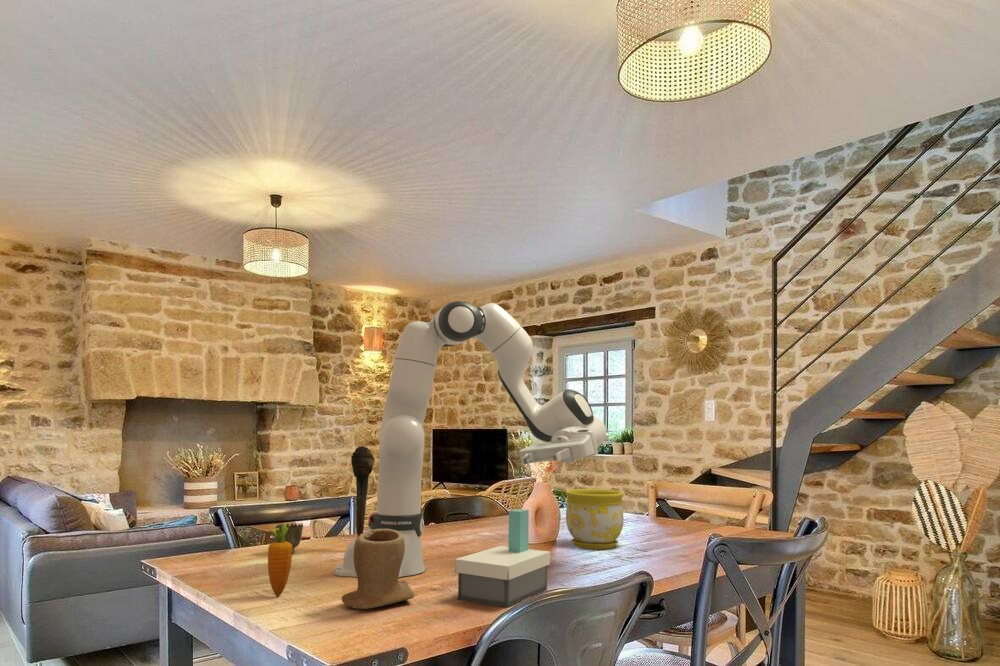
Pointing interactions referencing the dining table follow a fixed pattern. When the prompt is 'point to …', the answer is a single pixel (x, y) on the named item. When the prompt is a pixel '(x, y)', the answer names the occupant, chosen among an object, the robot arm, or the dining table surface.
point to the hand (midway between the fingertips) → (539, 459)
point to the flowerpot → (594, 517)
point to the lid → (506, 554)
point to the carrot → (279, 560)
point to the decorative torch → (361, 481)
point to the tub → (501, 588)
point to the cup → (292, 534)
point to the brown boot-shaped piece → (378, 570)
